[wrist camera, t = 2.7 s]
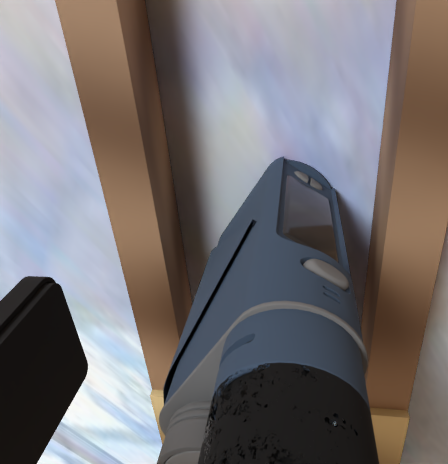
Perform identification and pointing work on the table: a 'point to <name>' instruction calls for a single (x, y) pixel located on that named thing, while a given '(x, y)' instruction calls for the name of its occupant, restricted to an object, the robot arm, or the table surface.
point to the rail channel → (165, 207)
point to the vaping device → (273, 339)
